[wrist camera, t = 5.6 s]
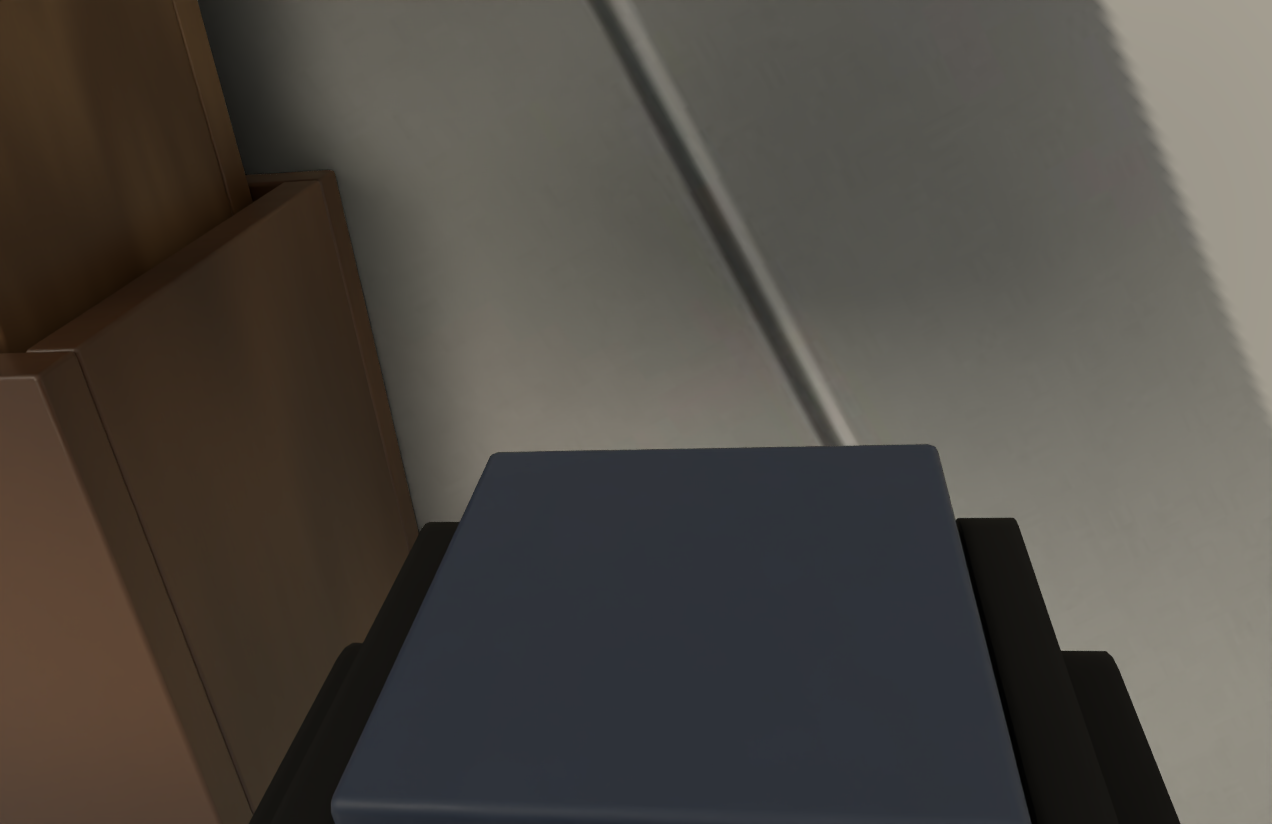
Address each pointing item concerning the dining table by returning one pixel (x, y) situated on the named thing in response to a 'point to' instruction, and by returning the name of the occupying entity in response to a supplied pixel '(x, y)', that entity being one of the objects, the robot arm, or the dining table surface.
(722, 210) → the dining table surface
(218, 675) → the cabinet
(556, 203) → the dining table surface
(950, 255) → the dining table surface
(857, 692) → the block
